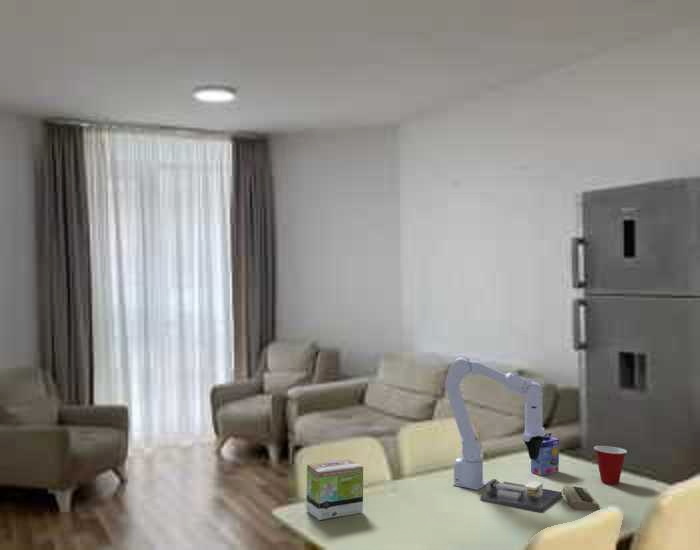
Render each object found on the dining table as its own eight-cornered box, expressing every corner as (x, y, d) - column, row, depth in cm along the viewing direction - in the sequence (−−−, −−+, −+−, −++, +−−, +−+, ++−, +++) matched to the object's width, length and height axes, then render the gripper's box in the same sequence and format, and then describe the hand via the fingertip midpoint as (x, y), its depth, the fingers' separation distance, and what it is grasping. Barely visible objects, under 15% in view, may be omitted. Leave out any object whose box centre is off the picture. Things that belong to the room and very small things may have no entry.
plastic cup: (633, 483, 245) (633, 448, 245) (614, 489, 239) (614, 453, 239) (607, 476, 254) (606, 442, 254) (587, 481, 248) (587, 447, 248)
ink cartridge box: (542, 476, 254) (542, 436, 254) (530, 473, 259) (529, 433, 259) (560, 471, 260) (559, 432, 260) (548, 468, 265) (547, 429, 264)
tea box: (319, 521, 211) (319, 472, 211) (306, 511, 220) (305, 464, 220) (364, 513, 218) (363, 465, 218) (349, 503, 227) (348, 457, 227)
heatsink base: (480, 500, 229) (480, 486, 229) (504, 485, 245) (504, 472, 245) (540, 512, 218) (540, 497, 218) (561, 495, 233) (561, 482, 233)
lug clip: (524, 498, 227) (524, 486, 227) (531, 492, 232) (531, 481, 232) (535, 500, 225) (535, 488, 225) (542, 495, 230) (542, 483, 230)
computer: (599, 511, 220) (599, 500, 220) (572, 510, 220) (572, 500, 220) (587, 494, 235) (587, 484, 235) (562, 494, 236) (562, 484, 236)
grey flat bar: (491, 488, 233) (491, 483, 233) (496, 485, 236) (496, 480, 236) (534, 495, 225) (534, 490, 225) (539, 492, 228) (538, 487, 228)
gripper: (537, 423, 232) (537, 465, 232) (552, 415, 243) (553, 455, 244) (516, 421, 236) (516, 461, 236) (533, 413, 247) (533, 452, 248)
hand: (533, 458), depth 240 cm, fingers closed
